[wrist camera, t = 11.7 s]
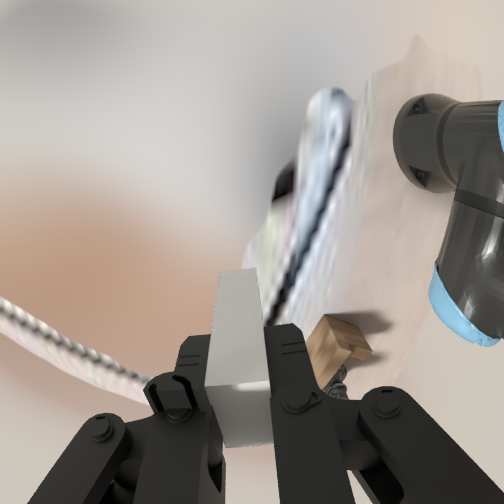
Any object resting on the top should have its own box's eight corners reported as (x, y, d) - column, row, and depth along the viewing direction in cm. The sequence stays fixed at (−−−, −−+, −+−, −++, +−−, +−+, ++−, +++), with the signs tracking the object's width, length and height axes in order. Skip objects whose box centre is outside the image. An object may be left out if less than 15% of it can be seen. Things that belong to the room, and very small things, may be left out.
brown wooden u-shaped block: (324, 314, 47) (340, 348, 39) (357, 326, 49) (377, 359, 40) (271, 390, 53) (277, 427, 44) (304, 398, 54) (313, 434, 45)
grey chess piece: (333, 344, 50) (354, 392, 38) (346, 364, 52) (367, 411, 40) (303, 361, 51) (318, 411, 39) (317, 379, 52) (333, 428, 41)
